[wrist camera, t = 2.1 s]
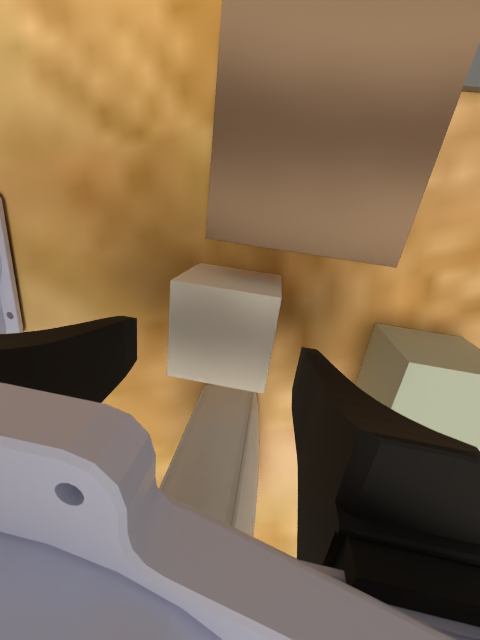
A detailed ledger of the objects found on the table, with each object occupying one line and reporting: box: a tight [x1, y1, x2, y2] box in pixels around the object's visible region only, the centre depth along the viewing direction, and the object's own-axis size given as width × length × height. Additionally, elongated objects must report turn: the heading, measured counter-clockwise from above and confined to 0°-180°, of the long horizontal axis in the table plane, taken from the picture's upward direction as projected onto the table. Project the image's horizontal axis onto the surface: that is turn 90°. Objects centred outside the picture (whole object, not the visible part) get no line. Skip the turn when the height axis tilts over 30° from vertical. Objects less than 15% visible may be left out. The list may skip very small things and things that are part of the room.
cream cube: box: [167, 263, 282, 394], centre depth 16 cm, size 5×5×5 cm
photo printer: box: [159, 384, 259, 537], centre depth 16 cm, size 10×4×12 cm, turn 1°
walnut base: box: [206, 0, 480, 268], centre depth 13 cm, size 9×9×3 cm
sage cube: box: [355, 323, 480, 451], centre depth 15 cm, size 5×5×5 cm
